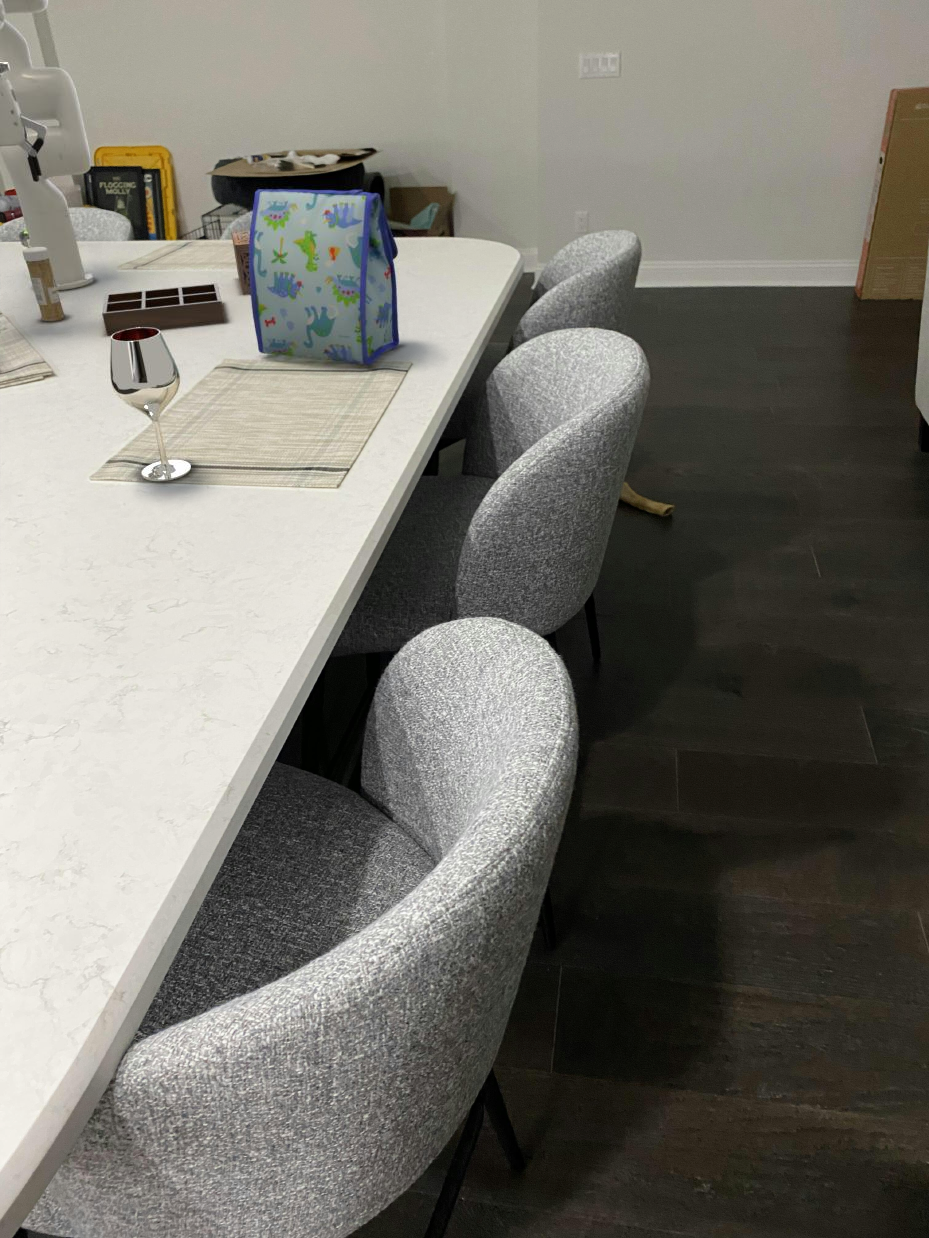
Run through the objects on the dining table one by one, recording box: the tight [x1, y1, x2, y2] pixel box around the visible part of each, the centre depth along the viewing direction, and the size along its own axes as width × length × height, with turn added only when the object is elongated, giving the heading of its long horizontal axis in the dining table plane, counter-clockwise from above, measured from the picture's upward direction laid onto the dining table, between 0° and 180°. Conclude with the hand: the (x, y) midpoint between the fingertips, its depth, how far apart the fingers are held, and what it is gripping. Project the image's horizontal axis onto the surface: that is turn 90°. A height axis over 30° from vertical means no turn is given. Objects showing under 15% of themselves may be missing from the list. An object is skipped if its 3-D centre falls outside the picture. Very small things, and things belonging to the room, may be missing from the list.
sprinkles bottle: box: [22, 246, 66, 322], centre depth 182 cm, size 5×5×13 cm
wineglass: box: [109, 328, 192, 482], centre depth 117 cm, size 8×8×18 cm
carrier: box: [101, 282, 226, 336], centre depth 182 cm, size 15×22×4 cm
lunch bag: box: [249, 188, 400, 366], centre depth 155 cm, size 22×17×26 cm
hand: (8, 182), depth 164 cm, fingers open, 9 cm apart
